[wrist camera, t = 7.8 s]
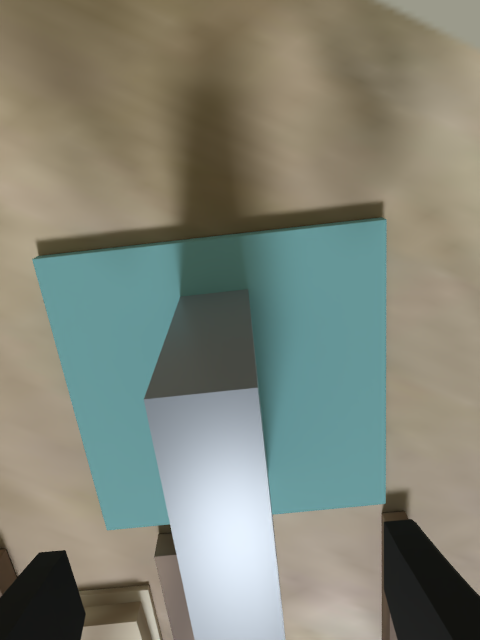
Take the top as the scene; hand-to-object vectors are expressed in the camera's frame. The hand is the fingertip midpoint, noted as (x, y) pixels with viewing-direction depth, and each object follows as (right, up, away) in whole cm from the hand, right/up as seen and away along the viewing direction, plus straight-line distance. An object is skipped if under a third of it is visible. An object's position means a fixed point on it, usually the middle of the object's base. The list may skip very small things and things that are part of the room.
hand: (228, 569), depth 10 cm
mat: (0, +3, +8) cm, 8 cm away
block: (0, +3, +7) cm, 8 cm away
